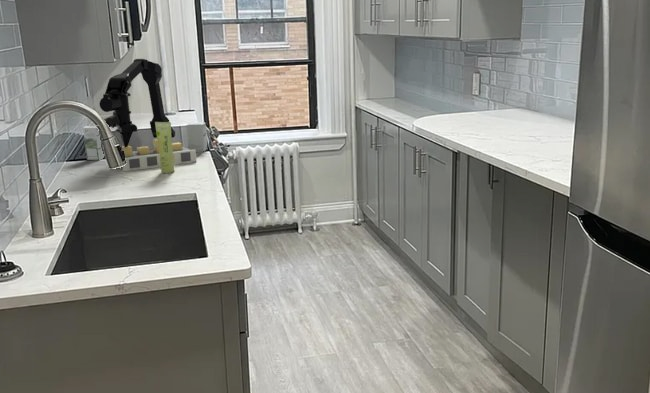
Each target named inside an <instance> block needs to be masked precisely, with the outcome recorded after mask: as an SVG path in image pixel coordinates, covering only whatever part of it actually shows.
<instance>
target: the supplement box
mask: <svg viewBox="0 0 650 393" xmlns="http://www.w3.org/2000/svg"><path fill="white" fill-rule="evenodd" d="M186 137H187V149H190V150H196V153H204V152H206V151H207V150H208V142H207V140H208V139H207V126H206V122H202V121H201V122H200V121H199V122H189V123H188V124H186ZM206 149H207V150H206ZM203 151H204V152H203Z"/></svg>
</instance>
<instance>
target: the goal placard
mask: <svg viewBox="0 0 650 393" xmlns="http://www.w3.org/2000/svg"><path fill="white" fill-rule="evenodd" d="M126 161H127V164H126V165H125V166H123V169H122V172H128V171H136V170H144V169H151V168H159V167H160V168H161V164H160V155H159V154H154V155H146V156H137V157H129V158H126ZM173 161H174V164H175V165H182V164H189V163H188V162H190V163H196V162H195V161H197V152H196V150H187V151H178V152H173ZM181 163H182V164H181Z"/></svg>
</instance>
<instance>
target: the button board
mask: <svg viewBox="0 0 650 393" xmlns="http://www.w3.org/2000/svg"><path fill="white" fill-rule="evenodd" d="M149 150H150V154H143V155H139V154H138V152H137V150H132V152H133V156H126V158H129V157H137V156H146V155H154V154H159V153H155V152H154V148H149ZM187 150H190V149H188V147H186V146H183V145H182V150H176V151H173V152H178V151H187ZM120 170H123V167H121V169H120Z"/></svg>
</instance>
